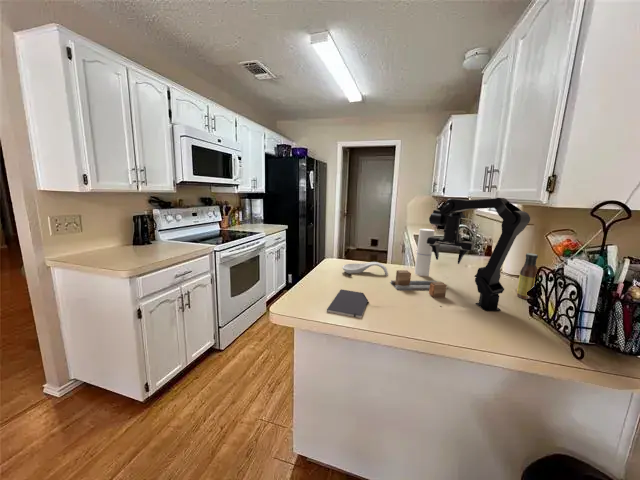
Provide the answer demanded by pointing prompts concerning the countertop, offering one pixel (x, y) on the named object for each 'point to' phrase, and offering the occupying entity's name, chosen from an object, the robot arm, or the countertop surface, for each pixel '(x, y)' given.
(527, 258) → the sauce bottle
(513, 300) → the countertop surface
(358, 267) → the spoon rest
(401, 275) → the fixed walnut finger
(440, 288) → the brown wooden block
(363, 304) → the notebook
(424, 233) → the cylindrical container
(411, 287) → the rail
